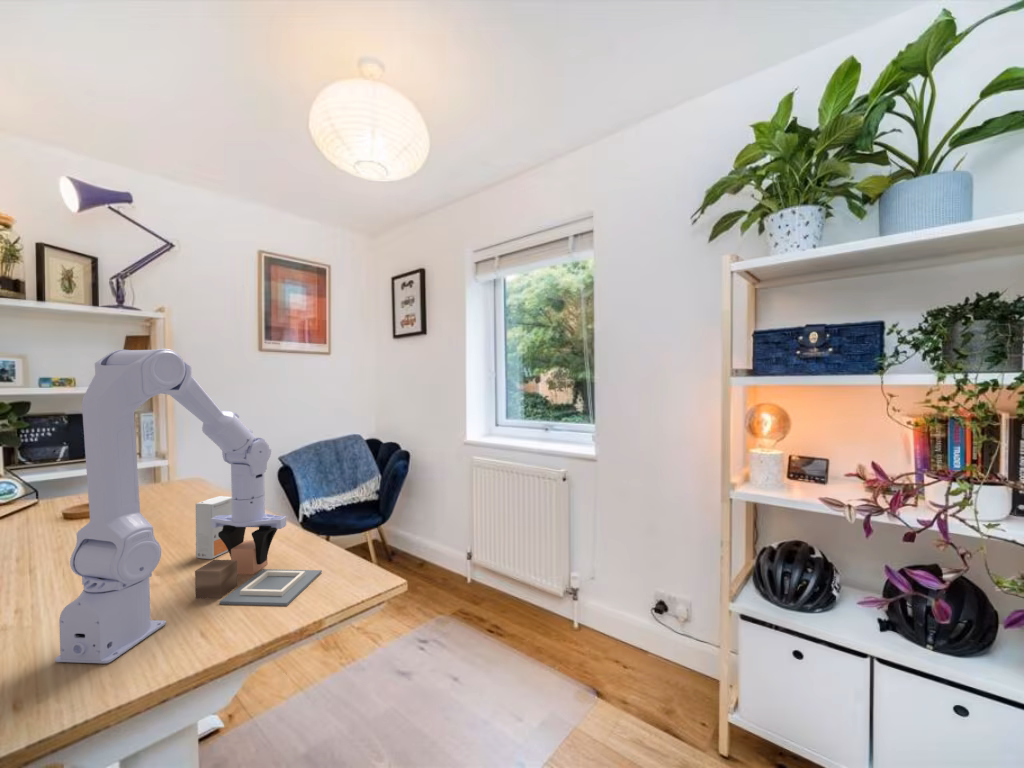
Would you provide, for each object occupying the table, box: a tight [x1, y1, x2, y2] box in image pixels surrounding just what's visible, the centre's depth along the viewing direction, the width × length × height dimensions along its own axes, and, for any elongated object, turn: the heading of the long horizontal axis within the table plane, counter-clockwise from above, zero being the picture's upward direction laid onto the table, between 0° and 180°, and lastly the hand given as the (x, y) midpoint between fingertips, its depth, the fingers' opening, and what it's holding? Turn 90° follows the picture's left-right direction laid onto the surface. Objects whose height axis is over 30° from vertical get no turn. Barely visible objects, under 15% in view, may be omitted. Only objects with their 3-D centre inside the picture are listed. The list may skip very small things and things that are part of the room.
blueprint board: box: [219, 568, 323, 607], centre depth 79 cm, size 12×12×1 cm
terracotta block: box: [230, 539, 268, 576], centre depth 87 cm, size 4×4×5 cm
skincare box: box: [195, 495, 232, 560], centre depth 94 cm, size 6×4×12 cm
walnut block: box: [194, 559, 239, 600], centre depth 78 cm, size 4×4×5 cm
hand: (249, 562), depth 87 cm, fingers closed on terracotta block, 4 cm apart
